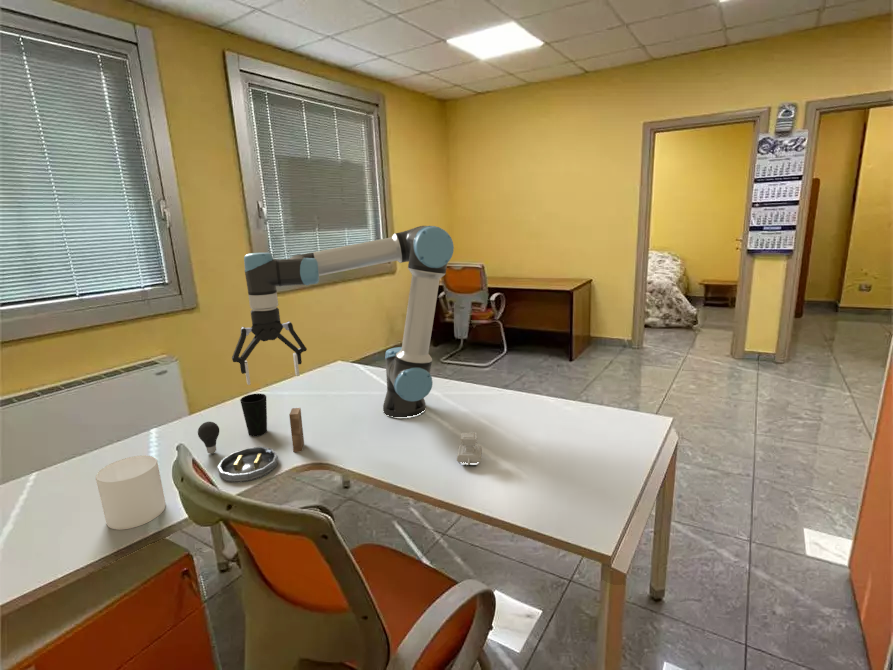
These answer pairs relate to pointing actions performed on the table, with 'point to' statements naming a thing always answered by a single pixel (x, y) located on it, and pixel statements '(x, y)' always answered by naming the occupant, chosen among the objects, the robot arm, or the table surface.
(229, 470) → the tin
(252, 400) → the cup
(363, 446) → the table surface
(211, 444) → the light bulb
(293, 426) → the tapered wood plank
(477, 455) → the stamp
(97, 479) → the cup
